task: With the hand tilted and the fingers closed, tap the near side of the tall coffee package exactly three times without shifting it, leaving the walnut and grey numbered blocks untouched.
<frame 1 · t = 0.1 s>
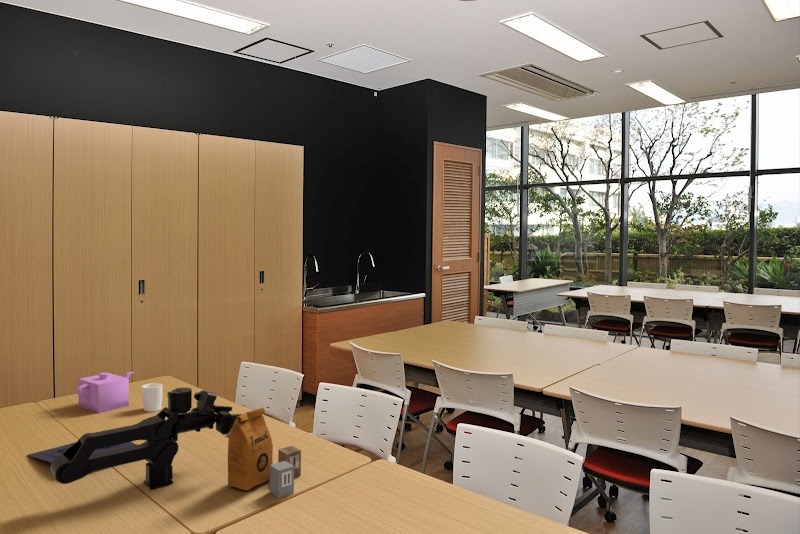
hand: (238, 411, 189), 17 cm above the table, fingers open, 9 cm apart
coffee package: (250, 484, 174), on the table
white cup: (152, 409, 242), on the table
external hard drive: (247, 435, 216), on the table
walnut numbered block: (289, 475, 181), on the table
grey numbered block: (281, 492, 169), on the table
dark blue flat slab: (85, 457, 191), on the table
teapot: (106, 406, 246), on the table
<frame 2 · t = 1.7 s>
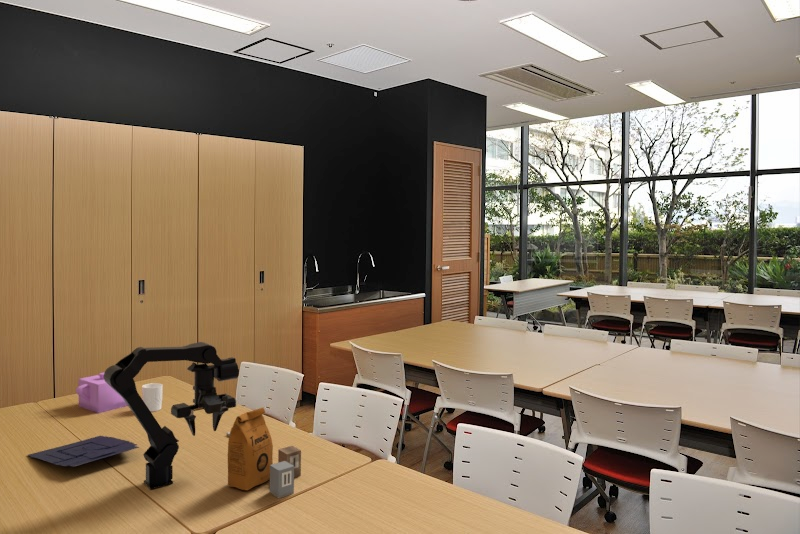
hand: (204, 433, 181), 12 cm above the table, fingers open, 6 cm apart
nothing on the table moved.
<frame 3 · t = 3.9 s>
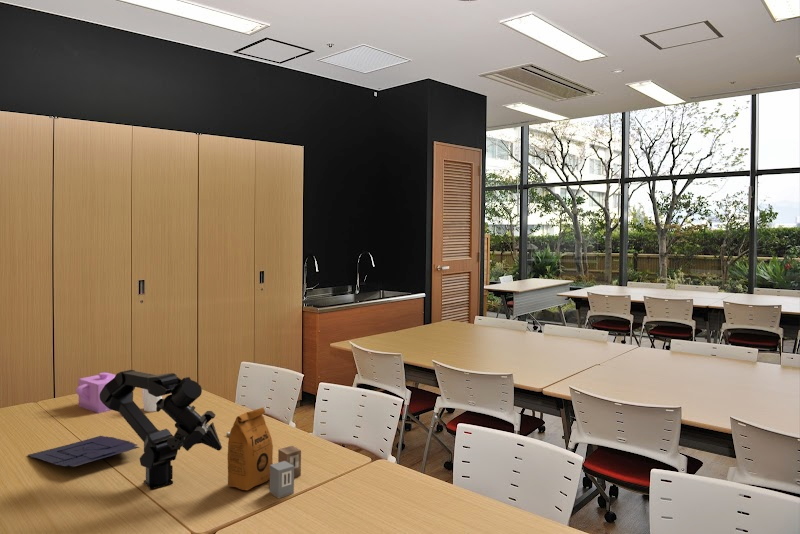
hand: (220, 449, 170), 12 cm above the table, fingers closed
nothing on the table moved.
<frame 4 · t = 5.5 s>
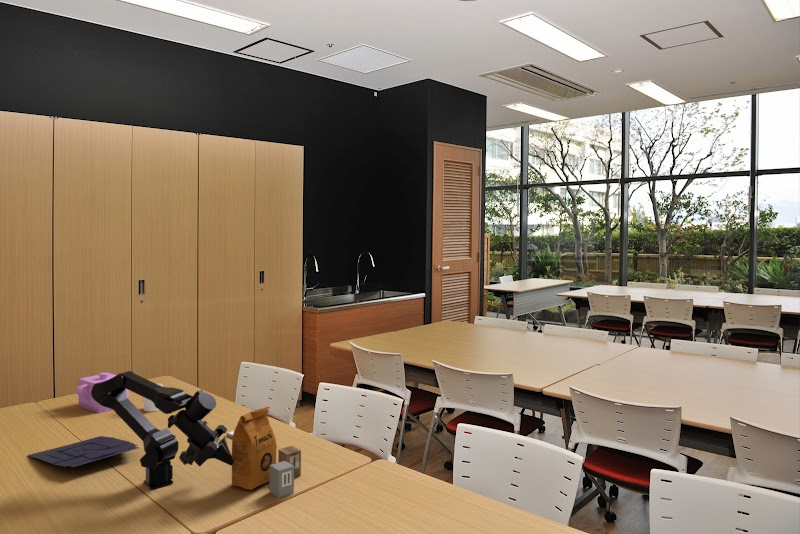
hand: (232, 464, 170), 7 cm above the table, fingers closed
coffee package: (254, 483, 174), on the table, touching gripper
everything else where it was.
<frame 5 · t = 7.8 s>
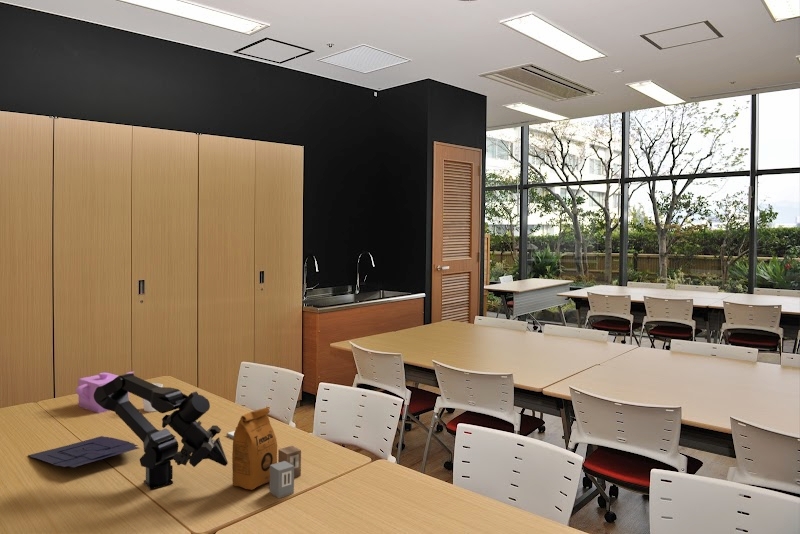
hand: (226, 464, 170), 7 cm above the table, fingers closed
coffee package: (255, 483, 175), on the table
everything else where it was.
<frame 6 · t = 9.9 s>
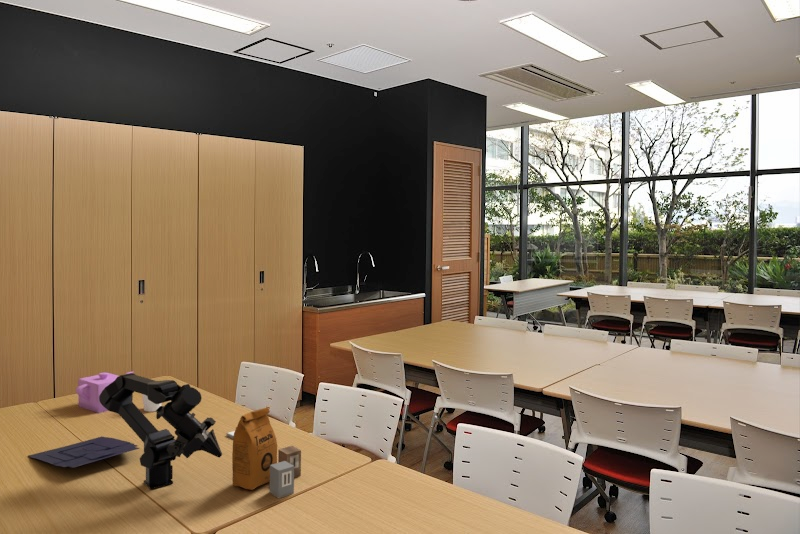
hand: (220, 456, 170), 10 cm above the table, fingers closed
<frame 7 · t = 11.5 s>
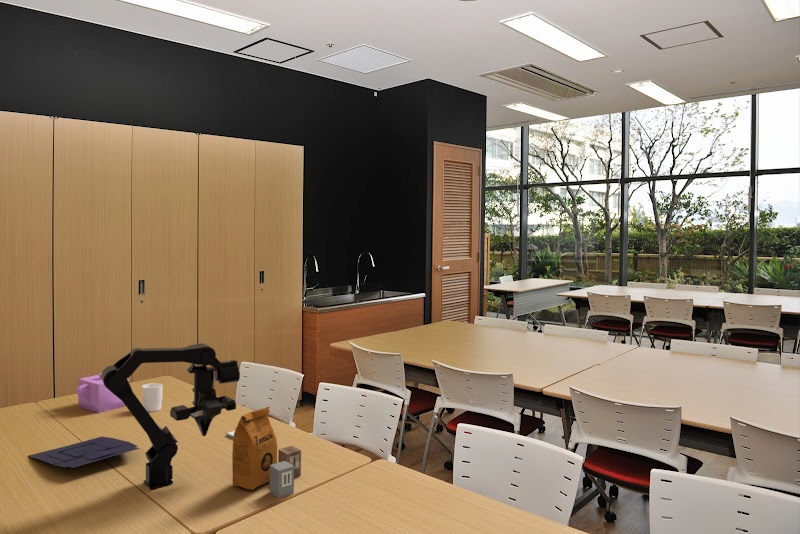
hand: (203, 435, 179), 12 cm above the table, fingers closed
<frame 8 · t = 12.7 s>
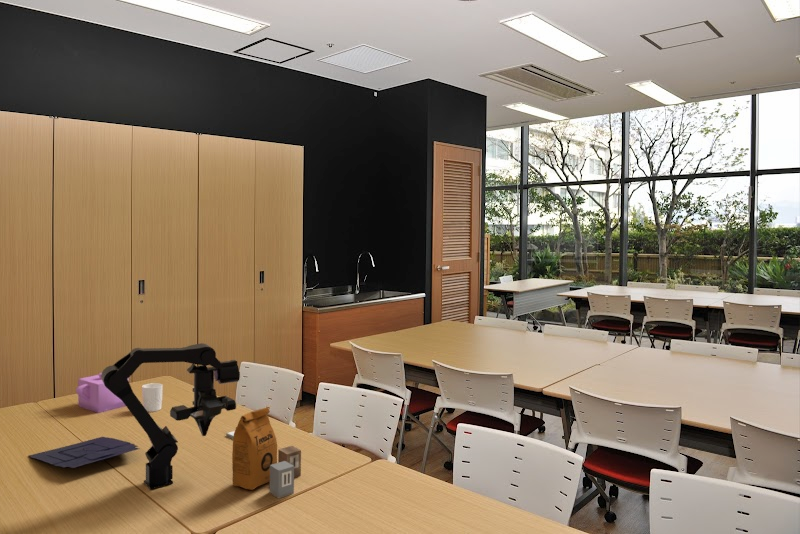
hand: (203, 435, 179), 12 cm above the table, fingers closed
at the end: coffee package moved 1.3 cm from its start; coffee package tilted 0°; grey numbered block moved 0.1 cm from its start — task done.
